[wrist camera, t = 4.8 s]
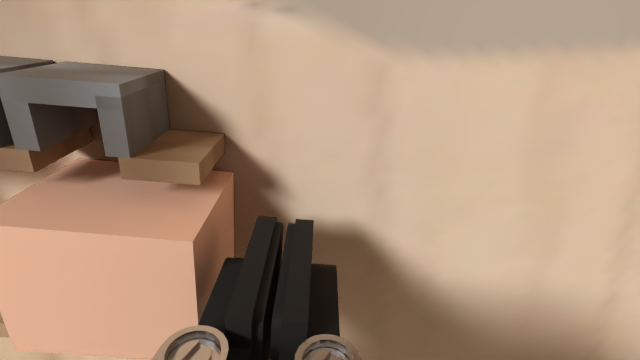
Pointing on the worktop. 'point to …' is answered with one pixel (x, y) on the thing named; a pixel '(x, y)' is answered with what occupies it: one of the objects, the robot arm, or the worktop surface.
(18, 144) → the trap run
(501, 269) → the worktop surface
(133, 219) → the block
